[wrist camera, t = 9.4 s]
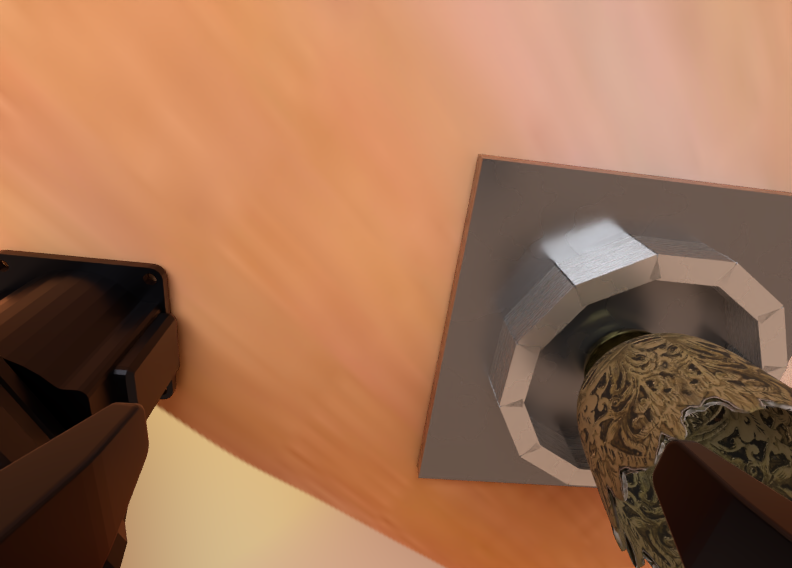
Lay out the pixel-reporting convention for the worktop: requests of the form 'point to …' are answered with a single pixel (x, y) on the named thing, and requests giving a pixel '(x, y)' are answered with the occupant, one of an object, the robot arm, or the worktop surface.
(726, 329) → the cup bracket
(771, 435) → the cup
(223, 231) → the worktop surface
